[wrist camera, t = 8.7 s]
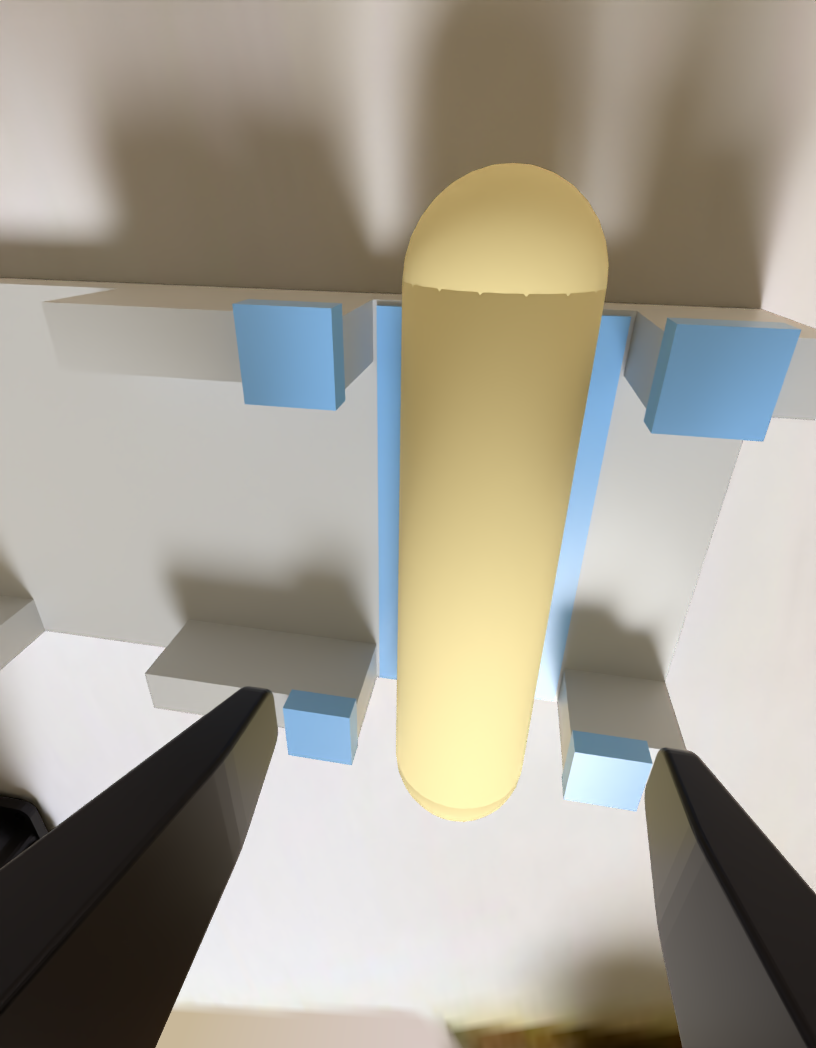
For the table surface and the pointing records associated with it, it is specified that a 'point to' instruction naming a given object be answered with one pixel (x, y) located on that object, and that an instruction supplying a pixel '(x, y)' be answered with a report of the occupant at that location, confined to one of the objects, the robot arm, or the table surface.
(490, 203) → the cream capsule cylinder
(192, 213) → the table surface
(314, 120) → the table surface
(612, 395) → the toy block layout
